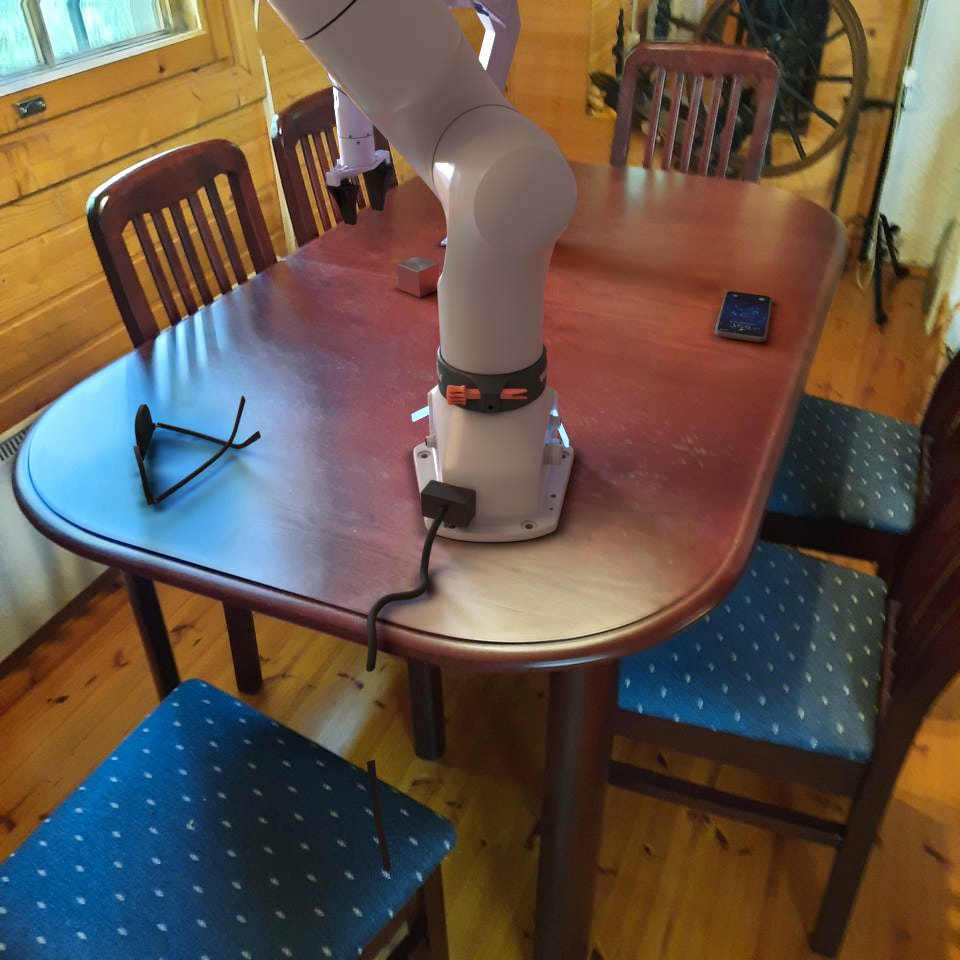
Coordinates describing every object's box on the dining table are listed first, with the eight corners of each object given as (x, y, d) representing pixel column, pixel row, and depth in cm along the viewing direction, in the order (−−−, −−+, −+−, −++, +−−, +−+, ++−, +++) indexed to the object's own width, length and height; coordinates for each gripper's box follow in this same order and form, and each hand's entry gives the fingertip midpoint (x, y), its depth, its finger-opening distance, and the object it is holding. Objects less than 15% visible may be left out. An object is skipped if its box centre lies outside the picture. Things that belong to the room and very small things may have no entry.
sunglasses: (270, 486, 97) (262, 449, 94) (137, 510, 94) (125, 474, 91) (257, 411, 110) (250, 377, 107) (140, 430, 107) (130, 396, 104)
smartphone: (773, 295, 132) (766, 339, 121) (772, 301, 133) (765, 345, 121) (725, 289, 134) (713, 331, 123) (724, 295, 135) (712, 337, 123)
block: (418, 280, 142) (416, 255, 140) (439, 288, 139) (438, 263, 137) (398, 289, 140) (396, 263, 137) (419, 297, 137) (418, 271, 134)
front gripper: (430, 9, 124) (435, 110, 133) (342, 32, 110) (353, 143, 119) (467, 11, 122) (470, 114, 130) (381, 35, 108) (390, 149, 116)
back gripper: (363, 120, 145) (371, 200, 153) (307, 141, 135) (318, 226, 143) (397, 125, 142) (403, 206, 150) (342, 147, 132) (352, 233, 140)
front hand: (413, 128), depth 124 cm, fingers open, 8 cm apart
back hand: (364, 216), depth 146 cm, fingers open, 7 cm apart
